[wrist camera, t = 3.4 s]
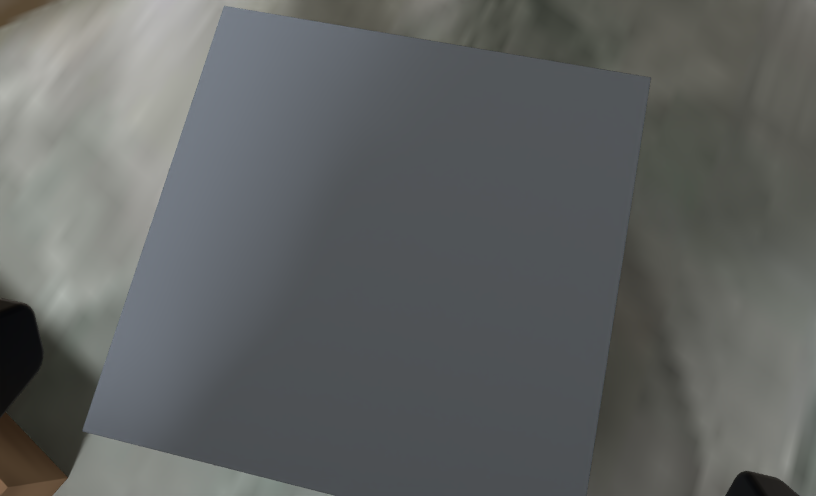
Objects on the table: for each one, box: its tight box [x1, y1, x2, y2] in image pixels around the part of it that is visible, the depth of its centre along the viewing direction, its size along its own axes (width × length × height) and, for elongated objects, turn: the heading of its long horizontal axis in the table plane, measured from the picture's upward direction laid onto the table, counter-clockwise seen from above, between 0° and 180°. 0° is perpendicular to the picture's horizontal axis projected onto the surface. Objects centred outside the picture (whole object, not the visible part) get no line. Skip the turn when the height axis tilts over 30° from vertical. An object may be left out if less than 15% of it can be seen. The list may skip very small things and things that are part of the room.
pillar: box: [82, 6, 651, 496], centre depth 13 cm, size 5×5×12 cm
